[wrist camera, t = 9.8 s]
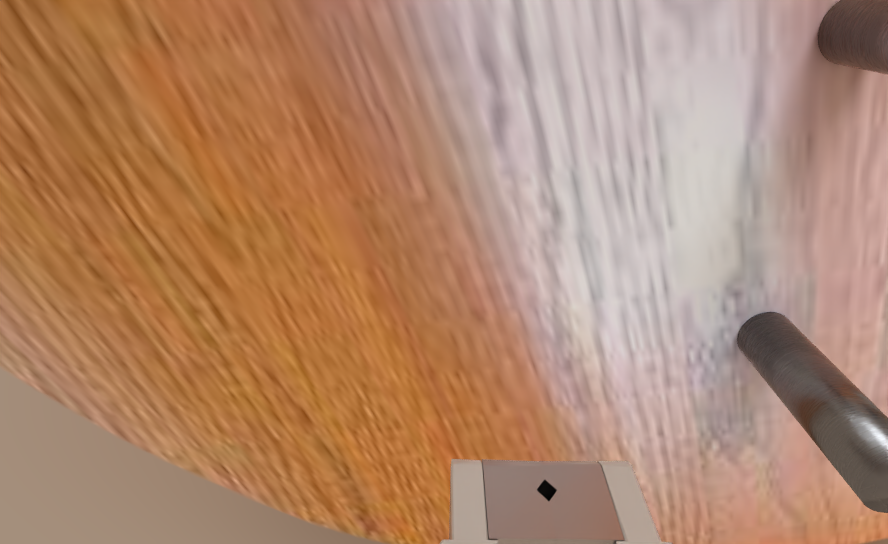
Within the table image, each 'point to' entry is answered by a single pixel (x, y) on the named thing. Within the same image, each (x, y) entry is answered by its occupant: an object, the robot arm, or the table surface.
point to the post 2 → (856, 34)
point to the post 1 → (822, 404)
